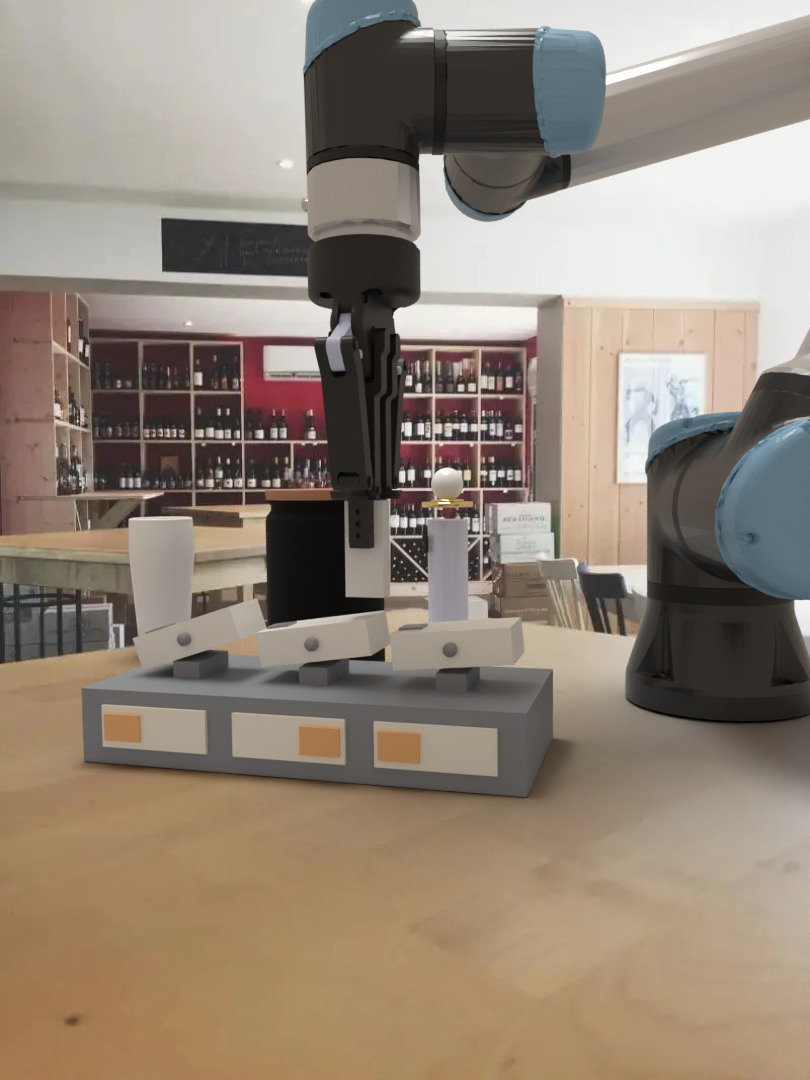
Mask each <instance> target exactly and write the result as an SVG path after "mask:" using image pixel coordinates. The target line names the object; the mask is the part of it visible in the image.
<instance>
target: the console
mask: <svg viewBox="0 0 810 1080" xmlns="http://www.w3.org/2000/svg"><path fill="white" fill-rule="evenodd" d="M80 691H81V710H82V711H81V713H82V715H81V716H82V741H83V743H82V745H83V761H84V762H90V763H102V764H117V765H126V764H127V765H128V766H139V767H140V766H141V767H151V768H152V767H153V768H163V769H177V770H188V771H199V772H200V771H201V772H211V773H212V772H213V773H226V774H236V775H237V774H240V775H247V776H248V775H251V776H264V777H273V778H274V777H275V778H276V777H277V778H285V779H286V778H287V779H296V780H298V779H299V780H310V781H321V782H324V781H325V782H335V783H347V784H348V783H349V784H358V785H359V784H360V785H373V786H384V787H385V786H386V787H397V788H406V789H407V788H409V789H420V790H430V791H431V790H435V791H444V792H445V791H446V792H456V793H457V792H459V793H470V794H480V795H481V794H482V795H483V794H484V795H494V796H505V797H506V796H507V797H508V796H509V797H519V798H520V797H521V798H527V797H529V796H528V795H529V793H530V791H531V789H532V786H533V784H534V782H535V780H536V777H537V776H538V773H539V771H540V768H541V766H542V763H543V761H544V759H545V756H546V755H547V752H548V750H549V747H550V746H551V744H552V741H553V739H554V669H553V668H537V667H536V668H535V667H517V666H516V667H515V666H514V667H512V666H484V667H461V668H439V669H417V670H394V671H393V665H392V661H385V662H379V661H356V660H349V658H345V659H335V660H326V661H317V662H307V663H298V664H289V665H279V666H270V667H261V664H260V658H259V655H243V654H242V655H240V654H238V655H235V654H229V650H226V649H225V650H224V649H223V650H220V649H209V650H206V651H203V652H200V653H197V654H193V655H190V656H187V657H184V658H181V659H178V660H174V661H171V662H168V663H165V664H162V665H159V666H155V667H152V668H149V669H146V670H142V667H141V666H139V667H136V668H134V669H131V670H128V671H125V672H122V673H119V674H117V675H112V677H108V678H106V679H102V680H100V681H98V682H97V681H96V682H95V683H92V684H89V685H87V686H83V687H81V690H80Z"/></svg>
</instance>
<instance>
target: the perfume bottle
mask: <svg viewBox="0 0 810 1080" xmlns="http://www.w3.org/2000/svg"><path fill="white" fill-rule="evenodd" d="M430 486H431V491H432V492H433V494H434V496H435V497H436V498H438V499H436V498H435V499H431V500H430V501H422V502H421V508H427V509H428V508H431V509H434V508H437V509H439V508H440V509H442V508H443V509H446V508H447V509H448V508H454V509H455V508H473V507H474V501H467V500H466V501H464V498H462V499H461V498H459V499H458V497H459V496H460V495H461V493H462V492H463V489H464V479H463V477H462V475H461V473H460V472H459V471H458V470H456V469H455V468H452V467H443V468H440V469H439V470H437V471H436V472H435V473H434V474H433V476H432V478H431V482H430ZM468 522H469V519H467V518H433V519H427V526H426V524H425V525H424V528H423V531H422V534H421V535H422V536H421V537H422V538H421V541H422V542H421V543H422V547H421V548H422V549H421V550H422V551H421V552H422V557H423V553H424V555H425V560H427V591H428V592H427V597H428V605H427V606H428V608H427V609H428V623H429V622H446V621H463V620H470V617H469V614H470V613H469V523H468ZM426 527H427V530H426V531H425V529H426ZM424 532H425V533H424Z"/></svg>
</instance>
